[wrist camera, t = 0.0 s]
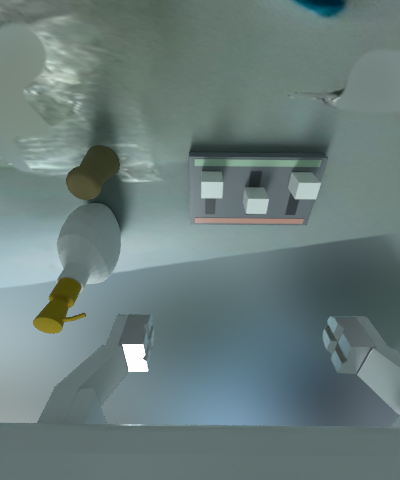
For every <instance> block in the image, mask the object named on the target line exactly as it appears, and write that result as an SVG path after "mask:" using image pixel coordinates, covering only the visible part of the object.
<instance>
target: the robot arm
mask: <svg viewBox="0 0 400 480" xmlns="http://www.w3.org/2000/svg"><path fill="white" fill-rule="evenodd" d="M327 323H328V325H329V326H327V327H326V328H324V331H323V341H324V345H325V347H326V349H327V350H328V351H329V352H330V353H331V354H332V357H331V360H332V362H333V364H334V366H335V368H336V370H337V372H338V373H353V374H357V375H358V376H359V377H360V378H361V379H362V380H363V381H364V382H365V383H366V384H367V385H368V386H369V387H370V388H371V389H373V390H374V391H375V392H376V393H377V394H378V395H379V396H380V397H381V398H382V399H383V400H384V401H385V402H386V403H387V404H388V405H389V406H391V408H392V409H393V410H394V411H395V412H397V414H399V416H398V417H397V418H396V419H395V420H394V422H393V423H392V427H336V426H335V427H334V426H331V427H330V426H247V425H156V424H152V425H151V424H107V421H106V419H105V416H104V414H103V411H102V409H101V406H102V405H103V404H104V403H105V401H106V400H107V399H108V398H109V396H110V395H111V394H112V393H113V391H114V390H115V389H116V388H117V386H118V385H119V384H120V383H121V381H122V380H123V379H124V378H125V376H126V375H127V374H128V371H148V368H149V363H150V357H151V356H150V350H151V349H152V347H153V340H154V328H153V326H152V316H151V315H138V314H118V315H117V317H116V319H115V322H114V325H113V327H112V330H111V332H110V335H109V338H108V340H107V343H106V345H102V346H101V347H100V348H99V349H97V350H96V351H95V352H94V353H93V354H92V355H91V356H89V357H88V358H87V359H86V360H85V361H84V362H83V363H82V364H80V365H79V366H78V367H77V368H76V369H75V370H74V371H72V372H71V373H70V374H69V375H68V376H67V377H66V378H64V379H63V380H62V381H61V382H60V383H59V384H58V385H57V386H55V388H54V390H53V392H52V394H51V396H50V398H49V400H48V402H47V404H46V406H45V408H44V410H43V412H42V414H41V416H40V418H39V420H38V422H37V423H0V480H400V353H399V352H397V351H396V350H394V349H393V348H389V347H388V346H387V345H386V344H385V342H384V341H383V339H382V338H381V336H380V335H379V333H378V332H377V331H376V329H375V328H374V326H373V325H372V324H371V322H370V321H369V320H368V318H366V317H363V316H362V317H361V316H353V317H352V316H331V317H329V319H328V321H327Z"/></svg>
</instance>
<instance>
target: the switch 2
mask: <svg viewBox="0 0 400 480" xmlns="http://www.w3.org/2000/svg"><path fill="white" fill-rule="evenodd" d="M320 185H321V182H320V181H319V180H318V179H317V178H316V176H315V175H314V174H313V173H312V172H292V173H291V177H290V181H289V185H288V189H289V190H290V192H291V194H292V195H293V197H294V199H316V198H317V195H318V192H319V188H320Z"/></svg>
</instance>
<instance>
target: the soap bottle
mask: <svg viewBox="0 0 400 480" xmlns="http://www.w3.org/2000/svg"><path fill="white" fill-rule="evenodd" d="M120 247H121V237H120V228H119V225H118V222H117V220H116V218H115V216H114V214H113V213H112V211H111V210H110V209H109V208H108V207H107V206H106V205H104V204H101V203H89V204H85V205H82V206H79V207H78V208H77V209H76V210H75V211H73V212H72V213H71V214H70V215H69V216H68V218H67V220H66V221H65V223H64V225H63V226H62V228H61V231H60V234H59V238H58V241H57V249H58V253H59V257H60V261H61V263H62V266H63V268H64V270H63V271H62V273H61V274H60V276H59V277H58V279H57V281H56V284H57V285H56V286H55V288H54V289H53V291H52V293H51V294H50V296H49V300H50V302H49V303H48V304H47V305H46V307H45V308H44V309H43V310H42V311H41V312H40V314H39V315H38V316H37V317H36V318H35V319H34V321H33V325H34V326H35V327H36V328H37V329H38V330H40V331H42V332H45V333H53V334H55V333H59V332H60V331H61V330H62V327H63V324H64V322H67V321H74V320H77V319H80V318H83V317H85V316H86V314H85V313H82V314H79V315H76V316H73V317H66V314H67V311H68V308H70V307H72V306H73V305H74V303H75V301H76V299H77V297H78V295H79V293H80V292H82V291H83V289H84V287H85V285H86V284H93V283H100V282H103V281H104V280H106V279H107V278H108V277H109V276H110V275H111V273H112V272H113V270H114V268H115V266H116V264H117V261H118V258H119V254H120Z"/></svg>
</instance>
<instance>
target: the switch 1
mask: <svg viewBox="0 0 400 480" xmlns="http://www.w3.org/2000/svg"><path fill="white" fill-rule="evenodd" d="M222 194H223V177H222V172H219V171H201V198H222Z"/></svg>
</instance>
